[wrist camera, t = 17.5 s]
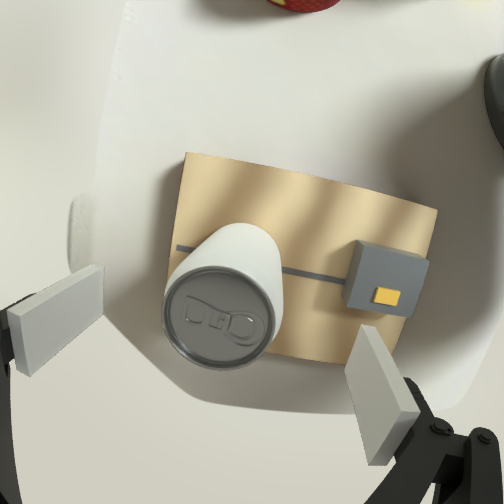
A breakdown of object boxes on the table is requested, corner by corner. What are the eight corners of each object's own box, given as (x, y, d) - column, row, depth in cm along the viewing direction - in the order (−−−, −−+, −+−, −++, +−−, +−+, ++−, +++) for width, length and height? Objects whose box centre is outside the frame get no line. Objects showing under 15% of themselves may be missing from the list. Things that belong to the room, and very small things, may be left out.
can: (266, 307, 28) (259, 392, 16) (194, 283, 28) (143, 352, 16) (291, 236, 26) (304, 283, 15) (215, 211, 26) (169, 237, 15)
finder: (418, 254, 26) (431, 262, 23) (401, 307, 27) (412, 319, 24) (356, 239, 26) (365, 246, 23) (341, 295, 27) (347, 308, 24)
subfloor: (421, 206, 29) (442, 211, 25) (378, 348, 33) (390, 370, 28) (194, 154, 30) (180, 151, 25) (170, 309, 33) (156, 327, 29)
